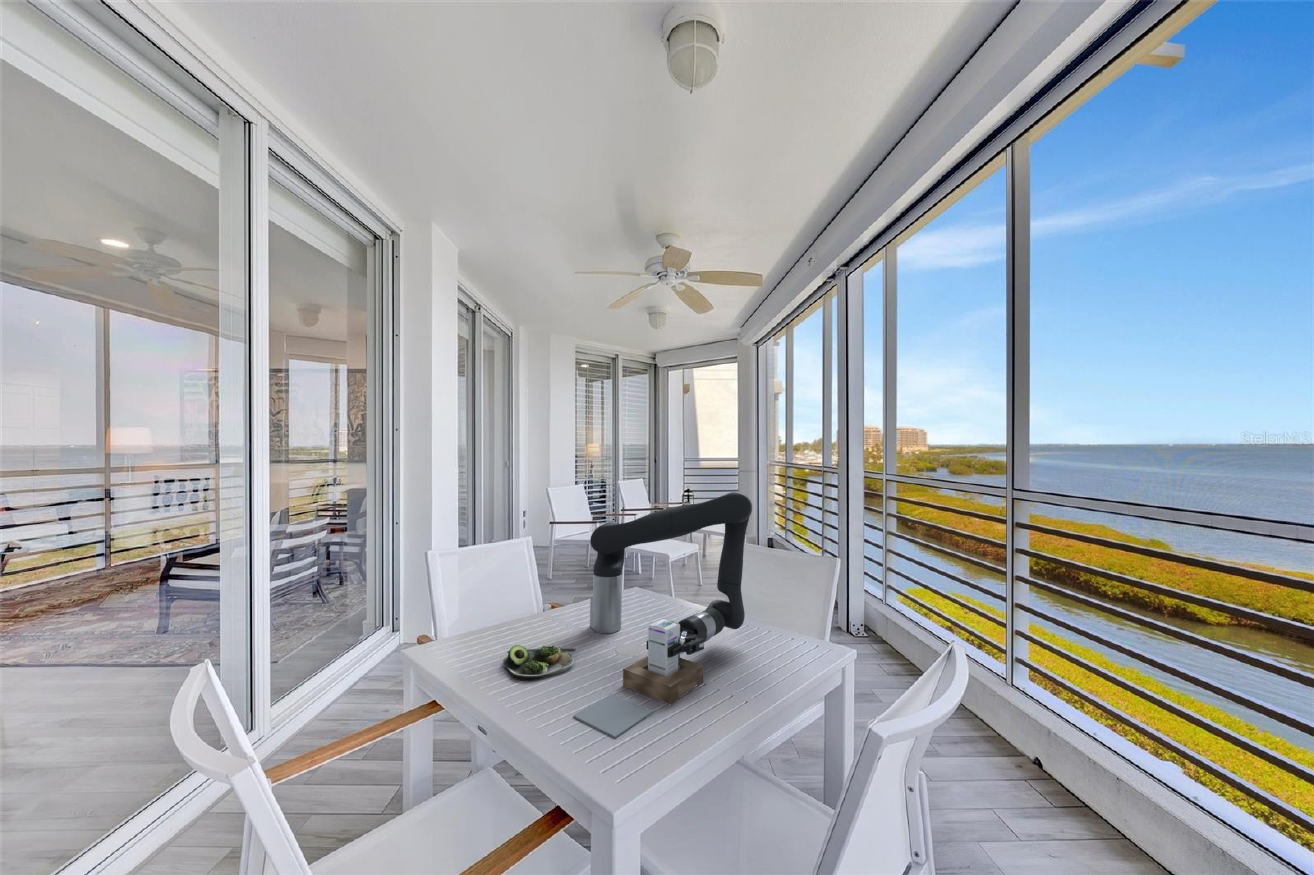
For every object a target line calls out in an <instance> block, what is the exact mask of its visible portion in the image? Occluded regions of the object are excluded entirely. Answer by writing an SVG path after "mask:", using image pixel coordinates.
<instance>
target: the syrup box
mask: <svg viewBox="0 0 1314 875" xmlns="http://www.w3.org/2000/svg"><path fill="white" fill-rule="evenodd" d="M647 630H648V632H647V633H648V634H647V635H648V636H647V637H648V638H647V640H648V650H647V654H648V655H647V656H648V670H649V671H651V672H654V673H657V674H659V675H662V676H665V677H669V676H670V675H672V674H674V673H675V672H677V671H679V670H680V658H681V654H680V653H679V654H677V655H676V656H673V657H668V648H669V647H671V646H672V645H674V644H676V643H678V644H679V641H680V624H679V623H678V622H677V621H673V620H670V619H663V618H661V619H660V620H658V621H656V622H654V623H651V624H649V625H648V626H647Z"/></svg>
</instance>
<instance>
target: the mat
mask: <svg viewBox="0 0 1314 875" xmlns="http://www.w3.org/2000/svg"><path fill="white" fill-rule="evenodd" d="M651 713H652V714H653V713H654V710H651V709H650V708H648V707H647V708H646V707H644V706H642V705H640V704H637V703H635V702H633V701H630V700H628V699H626V698H624V697H622V696H620V695H617V694H615V693H610V694H608V695H606V696H605V697H603V698H602V699H599V700H598V701H596V702H594V703H592V704H590V705H588V706H587V707H586V708H583V709H582V710H580V711H578V712H576V713H575V714H574V715H573V716H572V717H573V718H574V719H576V720H578V721H580V722H582V723H584V724H586V725H587V726H589V727H591V728H593V729H594V730H595V729H596V730H597V731H599V732H601V733H604V735H605V734H606V735H607V736H609V737H611V738H614V739H615V740H616V739H617V738H619V737H620V736H621V735H622V734H624V733H626V732H628V731H629V730H630V729H632V728H633V727H635V726H636V725H638V724H639V723H640V722H642V721H643V720H645V719H646V718H648V717H650V714H651ZM652 714H651V715H652ZM647 716H648V717H647ZM645 717H646V718H645ZM644 718H645V719H644ZM638 722H639V723H638Z"/></svg>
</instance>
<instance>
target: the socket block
mask: <svg viewBox="0 0 1314 875" xmlns="http://www.w3.org/2000/svg"><path fill="white" fill-rule="evenodd" d="M704 668H705V666H704V665H703V664H700V663H697V662H694V661H691V660H689V659H685V658H682V657H680V670H679V671H677V672H675V673H674V674H672V675H670V676H669V677H665V676H662V675H659V674H657V673H654V672H651V671H649V670H648V655H647V656H645V657H643V658H641V659H639V660H637V661H636V662H634V663H632V664H629V665H628V666H626V667H624V668H622V671H623V672H622V686H623V687H626V688H628V689H630V690H632V691H635V692H637V693H640V694H641V695H643V696H648V697H650V698H653V699H655V700H657V699H658V700H657V701H659V702H661V701H662V703H664V704H666V703H667V704H666V705H669V704H671V705H673V703H675V702H677V701H678V700H680V699H682V697H681V696H682V695H684V694H685V695H687V694H688V693H689V692H688V691H690V690H691V689H693V688H694V687H695V686H696V685H698V686H700V685H701V684H702V683H701V682H702V681H703V682H704V673H705V672H704ZM700 683H701V684H700ZM699 684H700V685H699ZM695 688H696V687H695ZM695 688H694V689H695ZM694 689H693V690H694ZM691 691H692V690H691ZM691 691H690V692H691ZM687 692H688V693H687ZM686 693H687V694H686ZM685 695H684V696H685ZM679 698H680V699H679ZM677 699H678V700H677ZM676 700H677V701H676Z"/></svg>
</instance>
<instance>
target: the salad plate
mask: <svg viewBox="0 0 1314 875" xmlns="http://www.w3.org/2000/svg"><path fill="white" fill-rule="evenodd" d="M576 650H577V649H576V647H575V648H574V647H567V648H565V647H562V648H561V646H560V645H559V646H554V645H542V646H538V647H535V648H531V649H527V648H526V647H525V646H523V645H521V644H516V645H512V646H511V648H510V649H509V650H508V651H506V653H507V655H506V656H505V657H504V658H503V661H502V664H503V666H504V669H505V671H506V672H507V673H508V675H509V676H510V677H511V678H513V679H515V680H518V681H524V682H525V681H526V682H529V681H536V680H542V679H545V678H548V677H551V676H555V675H558V674H560V673H563V672H566V671H568V669H570V668H571V667H572V666H573V665H575V659H574V658H573V657H571V656H570V655H569V654H571V653H574V652H576ZM556 664H558V665H561V667H560V668H558V669H557V670H554V671H551V672H550V671H549V672H548V669H549V667H551V666H555V665H556Z"/></svg>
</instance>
